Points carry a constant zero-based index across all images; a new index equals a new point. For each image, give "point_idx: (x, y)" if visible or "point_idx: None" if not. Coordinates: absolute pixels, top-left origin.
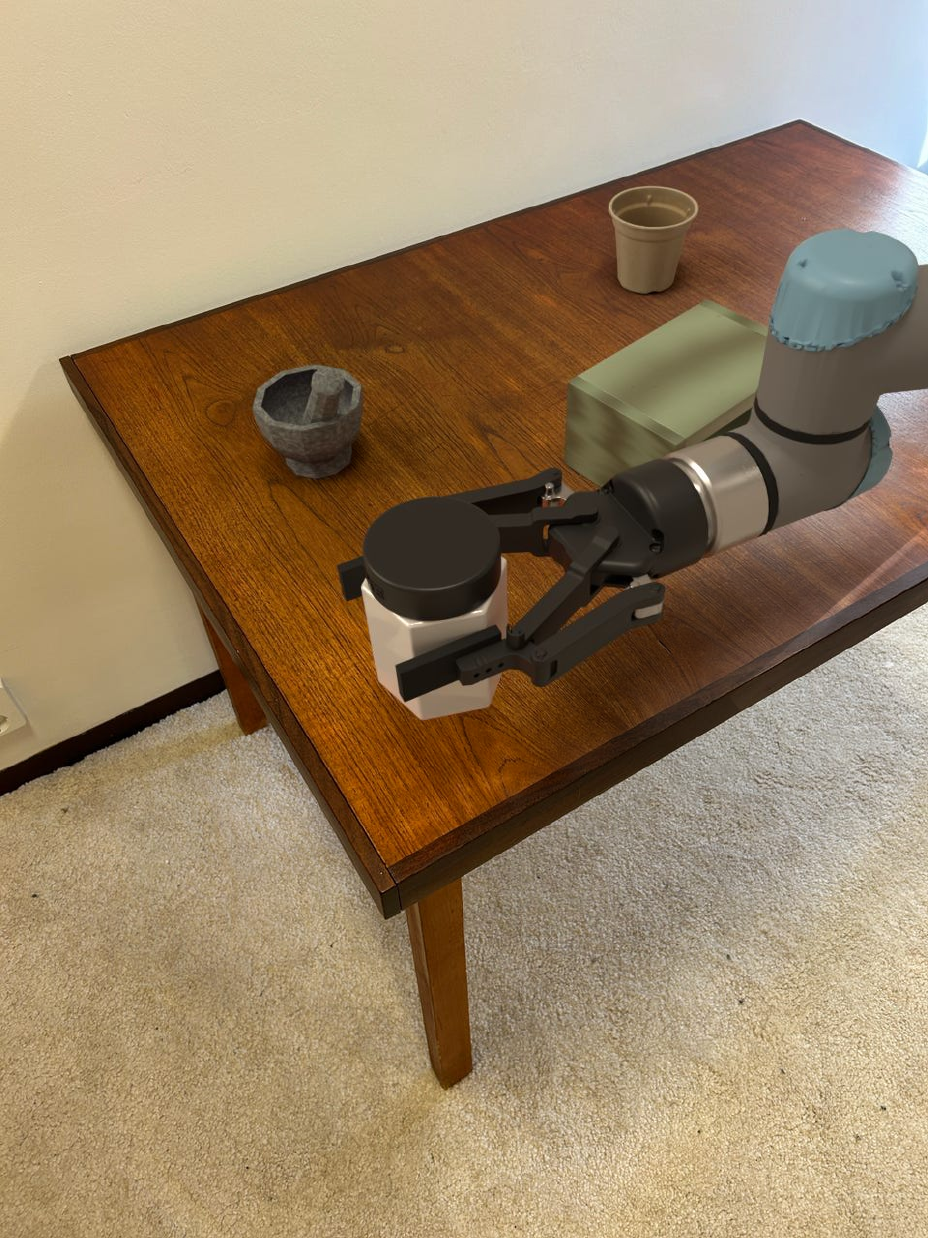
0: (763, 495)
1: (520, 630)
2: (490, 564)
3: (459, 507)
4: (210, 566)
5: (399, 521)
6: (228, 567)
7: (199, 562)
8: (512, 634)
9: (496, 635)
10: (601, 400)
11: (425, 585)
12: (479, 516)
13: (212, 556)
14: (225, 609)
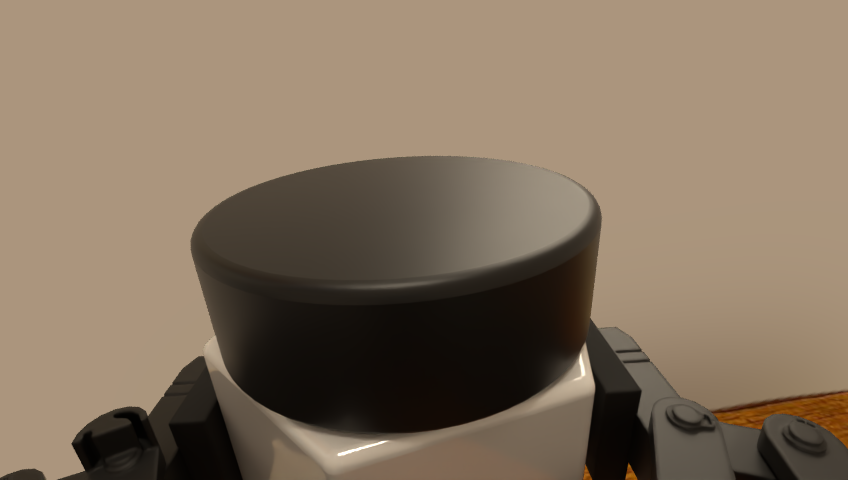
0: None
1: (125, 478)
2: (195, 248)
3: (509, 237)
4: (815, 405)
5: (501, 175)
6: (821, 423)
7: (820, 396)
8: (109, 416)
9: (176, 412)
10: None
11: (277, 182)
12: (428, 262)
13: (840, 410)
14: (726, 408)
